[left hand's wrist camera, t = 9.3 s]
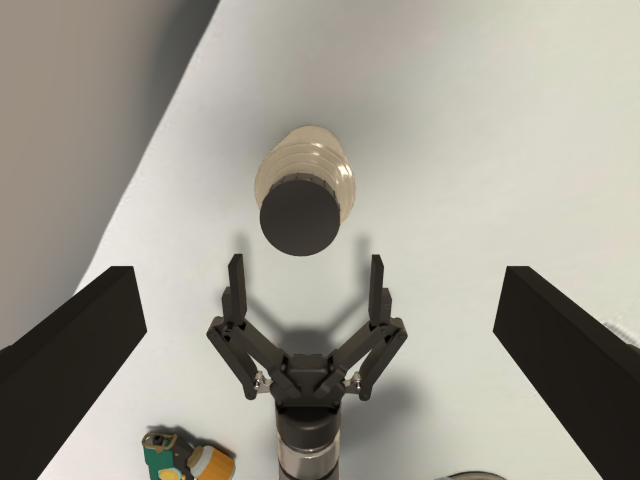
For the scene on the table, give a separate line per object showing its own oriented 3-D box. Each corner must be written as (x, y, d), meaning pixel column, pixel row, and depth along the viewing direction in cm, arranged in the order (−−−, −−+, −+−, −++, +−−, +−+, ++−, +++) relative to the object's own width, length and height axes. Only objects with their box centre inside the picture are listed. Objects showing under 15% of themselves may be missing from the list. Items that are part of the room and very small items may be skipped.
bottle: (286, 116, 35) (251, 133, 17) (353, 137, 36) (384, 174, 18) (269, 183, 38) (224, 257, 20) (332, 201, 38) (342, 288, 21)
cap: (274, 161, 20) (269, 167, 18) (349, 184, 20) (352, 192, 18) (256, 232, 21) (250, 244, 19) (327, 252, 22) (327, 265, 20)
